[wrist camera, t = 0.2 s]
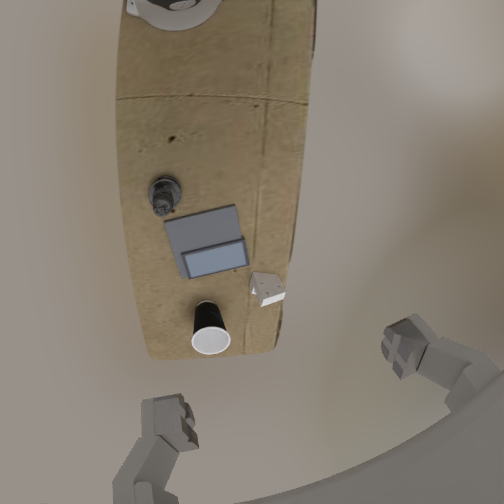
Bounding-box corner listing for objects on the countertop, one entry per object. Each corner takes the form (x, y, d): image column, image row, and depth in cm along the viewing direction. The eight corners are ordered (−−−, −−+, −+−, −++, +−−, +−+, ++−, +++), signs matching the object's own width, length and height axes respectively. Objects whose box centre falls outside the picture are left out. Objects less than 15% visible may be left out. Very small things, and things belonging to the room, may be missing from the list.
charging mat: (164, 221, 55) (164, 223, 55) (234, 204, 57) (235, 205, 56) (181, 276, 62) (181, 278, 61) (245, 260, 63) (246, 263, 62)
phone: (181, 252, 58) (180, 255, 57) (244, 237, 60) (245, 239, 59) (188, 277, 61) (188, 279, 60) (248, 262, 63) (249, 265, 62)
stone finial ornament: (171, 210, 55) (167, 236, 44) (145, 195, 52) (135, 218, 42) (187, 184, 53) (187, 206, 43) (161, 168, 51) (154, 186, 40)
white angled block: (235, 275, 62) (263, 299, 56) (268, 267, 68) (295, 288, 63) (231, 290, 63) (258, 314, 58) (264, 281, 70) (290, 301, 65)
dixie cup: (188, 320, 68) (190, 354, 59) (191, 293, 65) (193, 326, 55) (221, 321, 70) (227, 354, 61) (226, 295, 67) (233, 328, 57)
